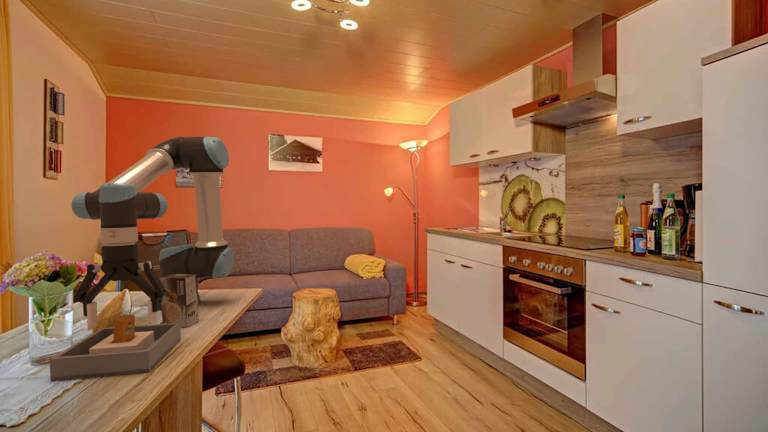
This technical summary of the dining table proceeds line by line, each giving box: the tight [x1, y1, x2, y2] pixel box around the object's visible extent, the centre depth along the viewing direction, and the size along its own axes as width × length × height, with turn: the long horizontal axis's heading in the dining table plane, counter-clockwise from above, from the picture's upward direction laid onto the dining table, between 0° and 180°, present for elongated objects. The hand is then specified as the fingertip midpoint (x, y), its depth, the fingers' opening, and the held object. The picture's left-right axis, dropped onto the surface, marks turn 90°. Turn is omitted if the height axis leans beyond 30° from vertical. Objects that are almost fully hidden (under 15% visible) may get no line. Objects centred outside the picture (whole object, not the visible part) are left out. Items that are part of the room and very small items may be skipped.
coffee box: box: [159, 274, 200, 328], centre depth 116 cm, size 9×6×16 cm
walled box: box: [49, 323, 182, 382], centre depth 91 cm, size 20×20×5 cm
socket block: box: [89, 331, 154, 354], centre depth 91 cm, size 10×10×4 cm
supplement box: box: [113, 313, 136, 343], centre depth 91 cm, size 3×4×10 cm
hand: (123, 326), depth 90 cm, fingers open, 13 cm apart
